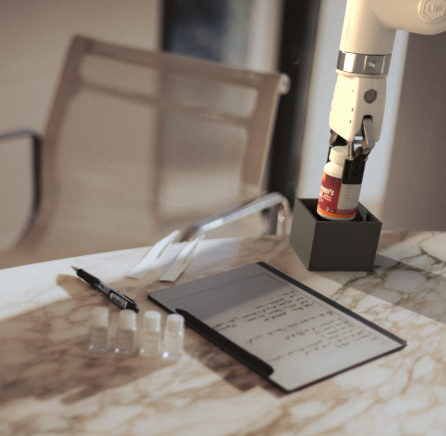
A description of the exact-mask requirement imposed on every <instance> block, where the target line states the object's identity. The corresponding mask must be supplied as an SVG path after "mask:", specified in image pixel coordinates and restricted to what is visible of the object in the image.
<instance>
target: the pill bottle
mask: <svg viewBox="0 0 446 436" xmlns="http://www.w3.org/2000/svg"><path fill="white" fill-rule="evenodd" d="M356 148H357V147H354V151H355V150H356ZM329 159H330V160H331V162H329V163H327V164H326V163H325V165H324V167H323V173H322V178H321V185H320V190H319V194H318V195H319V196H318V198H319V201H318V207H317V212H318V214H319V215H320V216H322V217H323V218H325V219H328V220H333V221H350V220H352V219H354V217H355V215H356V210H357V206H358V201H359V202H360V195H361V190H362V185H363V180H364V179H363V180H362V183H361V184H360V185H355V184H342V183H341V177H342V172H343V166H344V161H345V159H348V145H347V146H335V147H332V148H331V152H330V157H329Z"/></svg>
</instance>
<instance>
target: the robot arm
mask: <svg viewBox="0 0 446 436" xmlns="http://www.w3.org/2000/svg"><path fill="white" fill-rule="evenodd" d="M397 30H398V31H404V32H409V33H414V34H418V35H425V36H431V35H432V36H434V35H437V34H438V35H439V34H441V33H444V32H446V0H346V5H345V11H344V19H343V24H342V29H341V37H340V43H339V50H338V55H337V62H336V68H335V73H336V74H338V75H337V78H336V82H335V86H334V89H333V90H334V91H333V95H332V99H331V105H330V111H329V118H328V126H329V128H330V130H329V133H330V136H329V140H328V152H327V157H326V161H325V165H326V164H327V163H329V162H331V160H330V159H329V157H330V152H331V148H332V147H335V146H348V159H345V161H344V166H343V172H342V177H341V183H342V184H355V185H360V184H361V183H362V184H363V181H362V180H364V176H365V175H364V174H365V169H366V164H367V161H368V160H369V156H370V154H371V152H372V151H373V149H374V148H375V147H376V143H378V142H379V141H380V139H381V136H382V135H381V134H382V130H383V129H382V128H383V121H384V115H385V110H386V109H385V108H386V100H387V78H388V76H389V71H390V67H391V66H390V65H391V61H392V56H393V50H394V45H395V40H396V37H397V36H396V35H397V32H398V31H397ZM355 137H358V138H362V139H356V138H355ZM355 145H358V146H357V147H355ZM359 145H360V146H359ZM354 148H356V150H355V151H354Z"/></svg>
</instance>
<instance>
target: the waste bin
mask: <svg viewBox="0 0 446 436" xmlns="http://www.w3.org/2000/svg"><path fill="white" fill-rule="evenodd" d="M318 201H319V197H318V198H317V197H315V198H314V197H295V199H294V204H293V205H294V207H293V212H292V219H291V225H290V232H289V238H288V239H289V240H288V243H289V245H290V246H291V248H292V250H293V251H294V253H295V255H296V256H297V257H298V259H299V260H300V261H301V263H302V264H303V266H304V267H305V268H306V270H307V271H309V272H310V271H311V272H312V271H313V272H373V271H374V266H375V261H376V257H377V253H378V252H377V251H378V246H379V241H380V237H381V233H382V227H383V222H382V221H381V220H380V219H378V218H377V217H376V216H375V215H374V214H373V213H372V212H371V211H370V210H369V209H368V208H367V207H366V206H364V204H362V202H360V200H359V201H358V206H357V210H356V215H355V217H354V219H352V220H350V221H333V220H328V219H325V218H323V217H322V216H320V215H319V214H318V212H317V207H318Z"/></svg>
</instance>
